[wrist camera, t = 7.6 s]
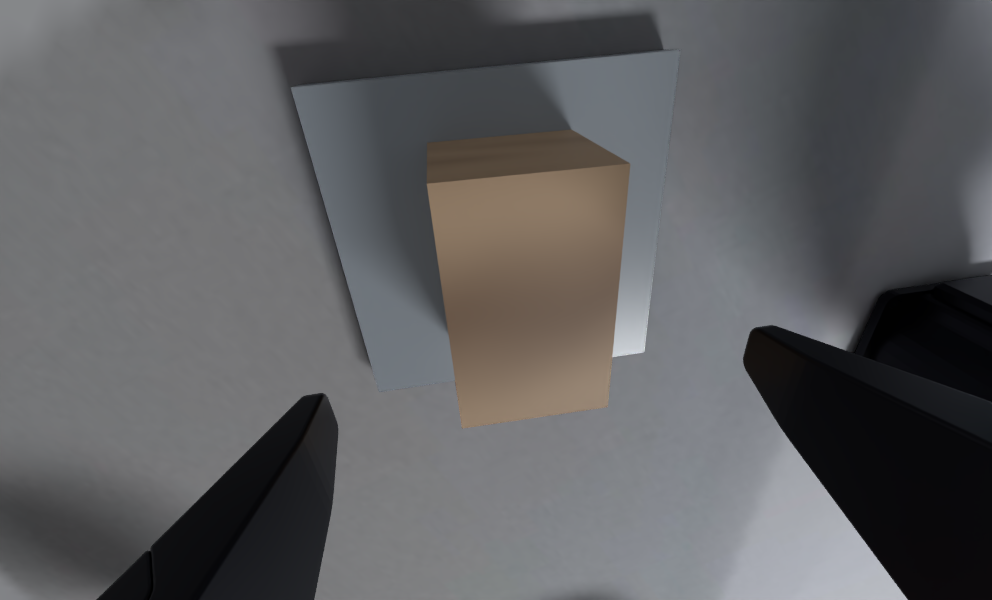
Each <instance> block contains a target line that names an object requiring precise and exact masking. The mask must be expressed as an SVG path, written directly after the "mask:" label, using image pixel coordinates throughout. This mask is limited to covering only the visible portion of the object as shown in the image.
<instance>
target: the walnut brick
mask: <svg viewBox="0 0 992 600" xmlns="http://www.w3.org/2000/svg"><path fill="white" fill-rule="evenodd" d="M629 174H630V163H629V162H627V161H625V160H623V159H622V158H620V157H618V156H617V155H615V154H613V153H611V152H610V151H608V150H606V149H604V148H603V147H601V146H599V145H598V144H596V143H594V142H592V141H591V140H589V139H587V138H585V137H584V136H582V135H580V134H579V133H577V132H575V131H573V130H561V131H550V132H539V133H528V134H517V135H506V136H495V137H484V138H473V139H462V140H451V141H441V142H430V143H427V189H428V196H429V203H430V210H431V217H432V224H433V231H434V238H435V245H436V251H437V258H438V265H439V272H440V279H441V286H442V293H443V300H444V307H445V314H446V321H447V328H448V334H449V341H450V348H451V355H452V362H453V369H454V376H455V383H456V390H457V397H458V404H459V411H460V418H461V424H462V428H469V427H476V426H482V425H489V424H496V423H503V422H510V421H517V420H523V419H530V418H537V417H544V416H551V415H557V414H564V413H571V412H578V411H585V410H591V409H598V408H605V407H608V398H609V387H610V377H611V366H612V355H613V345H614V334H615V323H616V313H617V302H618V291H619V281H620V270H621V259H622V249H623V238H624V228H625V217H626V206H627V196H628V185H629Z"/></svg>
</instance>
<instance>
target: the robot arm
mask: <svg viewBox="0 0 992 600" xmlns="http://www.w3.org/2000/svg"><path fill="white" fill-rule="evenodd" d="M743 363H744V367H745V369H746V371H747V373H748V374H749V376H750V378H751V379H752V381H753V383H754V384H755V386H756V388H757V389H758V391H759V393H760V394H761V396H762V398H763V399H764V401H765V403H766V404H767V406H768V408H769V409H770V411H771V413H772V414H773V416H774V418H775V419H776V421H777V423H778V424H779V426H780V427H781V429H782V430H783V432H784V433H785V435H786V436H787V437H788V439H789V440H790V441H791V443H792V444H793V446H794V447H795V448H796V450H797V451H798V452H799V454H800V455H801V456H802V458H803V459H804V460H805V462H806V463H807V464H808V466H809V467H810V468H811V470H812V471H813V473H814V474H815V475H816V477H817V478H818V479H819V481H820V482H821V483H822V485H823V486H824V487H825V489H826V490H827V491H828V493H829V494H830V495H831V497H832V498H833V499H834V501H835V502H836V504H837V505H838V506H839V508H840V509H841V510H842V512H843V513H844V514H845V516H846V517H847V518H848V520H849V521H850V522H851V524H852V525H853V526H854V528H855V529H856V530H857V532H858V533H859V535H860V536H861V537H862V539H863V540H864V541H865V543H866V544H867V545H868V547H869V548H870V549H871V551H872V552H873V553H874V555H875V556H876V557H877V559H878V560H879V561H880V563H881V564H882V566H883V567H884V568H885V570H886V571H887V572H888V574H889V575H890V576H891V578H892V579H893V580H894V582H895V583H896V584H897V586H898V587H899V588H900V590H901V591H902V593H903V594H904V595H905V597H906V598H907V599H908V600H992V275H989V276H982V277H975V278H968V279H961V280H954V281H948V282H942V283H936V284H929V285H922V286H916V287H909V288H902V289H895V290H890V291H887V292H886V293H884V294H883V295H882V296H881V297H880V298H879V299H878V301H877V303H876V306H875V308H874V310H873V312H872V315H871V317H870V319H869V322H868V324H867V326H866V329H865V331H864V333H863V336H862V338H861V340H860V342H859V345H858V347H857V349H856V352H855V354H854V353H851V352H848V351H845V350H842V349H840V348H837V347H834V346H831V345H828V344H825V343H823V342H820V341H817V340H814V339H811V338H808V337H806V336H803V335H800V334H797V333H794V332H791V331H789V330H786V329H783V328H780V327H777V326H773V325H769V326H762V327H756V328H754V329H752V331H751V332H750V334H749V338H748V342H747V345H746V349H745V353H744V357H743ZM337 443H338V424H337V421H336V418H335V415H334V413H333V410H332V407H331V405H330V402H329V399H328V397H327V396H326V395H325V394H323V393H318V394H312V395H306V396H303V397H302V398H301V399H300V400H299V401H298V402H297V403H296V404H295V405H294V406H292V407H291V408H290V409H289V410H288V411H287V412H286V413H285V414H284V415H283V416H282V417H281V418H280V419H279V420H278V421H277V422H276V423H275V424H274V425H273V426H272V427H271V428H270V429H269V430H268V431H267V432H266V433H265V434H264V435H263V436H262V437H261V438H260V439H259V440H258V441H257V442H256V443H255V444H254V445H253V446H252V447H251V448H250V449H249V450H248V451H247V452H246V453H245V454H244V455H243V456H242V457H241V458H240V459H239V460H238V461H237V462H236V463H235V464H234V465H233V466H232V467H231V468H230V469H229V470H228V471H227V472H226V473H225V474H224V475H223V476H222V477H221V478H220V479H219V480H218V481H217V482H216V483H215V484H214V485H213V486H212V487H211V488H210V489H209V490H208V491H207V492H206V493H205V494H204V495H203V496H202V497H201V498H200V499H199V500H198V501H197V502H196V503H195V504H194V505H193V506H192V507H191V508H190V509H189V510H187V511H186V512H185V513H184V514H183V515H182V516H181V517H180V518H179V519H178V520H177V521H176V522H175V523H174V524H173V525H172V526H171V527H170V528H169V529H168V530H167V531H166V532H165V533H164V534H163V535H162V536H161V537H160V538H159V539H158V540H157V541H156V542H155V543H154V544H153V545H152V546H151V551H146V552H145V553H144V554H143V555H142V556H141V557H140V558H139V559H138V560H137V561H136V562H135V563H134V564H133V565H132V566H131V567H130V568H129V569H128V570H127V571H126V572H125V573H124V574H123V575H122V576H121V577H119V578H118V579H117V580H116V581H115V582H114V583H113V584H112V585H111V586H110V587H109V588H108V589H107V590H106V591H105V592H104V593H103V594H102V595H101V596H100V597H99V598H98V599H97V600H314V598H315V593H316V588H317V583H318V577H319V572H320V567H321V562H322V557H323V552H324V547H325V542H326V537H327V532H328V527H329V521H330V516H331V510H332V503H333V494H334V481H335V468H336V455H337Z"/></svg>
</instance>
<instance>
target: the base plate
mask: <svg viewBox="0 0 992 600" xmlns="http://www.w3.org/2000/svg"><path fill="white" fill-rule="evenodd" d="M679 59H680V50H655V51H644V52H634V53H623V54H613V55H603V56H592V57H582V58H572V59H561V60H551V61H540V62H530V63H520V64H509V65H499V66H488V67H478V68H468V69H457V70H447V71H437V72H426V73H416V74H405V75H395V76H385V77H374V78H364V79H354V80H343V81H333V82H322V83H312V84H302V85H297V86H294V87H291V90H292V94H293V97H294V101H295V104H296V108H297V111H298V115H299V118H300V122H301V125H302V128H303V132H304V135H305V139H306V142H307V146H308V149H309V153H310V156H311V159H312V163H313V166H314V170H315V173H316V177H317V180H318V184H319V187H320V191H321V194H322V197H323V201H324V204H325V208H326V211H327V215H328V218H329V222H330V225H331V229H332V232H333V235H334V239H335V242H336V246H337V249H338V253H339V256H340V260H341V263H342V267H343V270H344V273H345V277H346V280H347V284H348V287H349V291H350V294H351V298H352V301H353V304H354V308H355V311H356V315H357V318H358V322H359V325H360V329H361V332H362V336H363V339H364V342H365V346H366V349H367V353H368V356H369V360H370V363H371V367H372V370H373V374H374V377H375V380H376V384H377V387H378V391H379V392H383V391H390V390H397V389H403V388H410V387H417V386H423V385H430V384H437V383H443V382H450V381H455V376H454V369H453V362H452V355H451V348H450V341H449V334H448V328H447V321H446V314H445V307H444V300H443V293H442V286H441V279H440V272H439V265H438V258H437V251H436V245H435V238H434V231H433V224H432V217H431V210H430V203H429V196H428V189H427V143H430V142H441V141H451V140H462V139H473V138H484V137H495V136H506V135H517V134H528V133H539V132H550V131H561V130H573V131H575V132H577V133H579V134H580V135H582V136H584V137H585V138H587V139H589V140H591V141H592V142H594V143H596V144H598V145H599V146H601V147H603V148H604V149H606V150H608V151H610V152H611V153H613V154H615V155H617V156H618V157H620V158H622V159H623V160H625V161H627V162H629V163H630V174H629V185H628V196H627V206H626V217H625V228H624V238H623V249H622V259H621V270H620V281H619V291H618V302H617V313H616V323H615V334H614V345H613V355H612V357H616V356H623V355H630V354H636V353H643V352H644V349H645V341H646V332H647V324H648V316H649V307H650V299H651V291H652V283H653V274H654V266H655V258H656V249H657V241H658V233H659V225H660V216H661V208H662V200H663V191H664V183H665V175H666V166H667V158H668V150H669V142H670V133H671V125H672V117H673V108H674V100H675V92H676V83H677V75H678V67H679Z"/></svg>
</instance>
